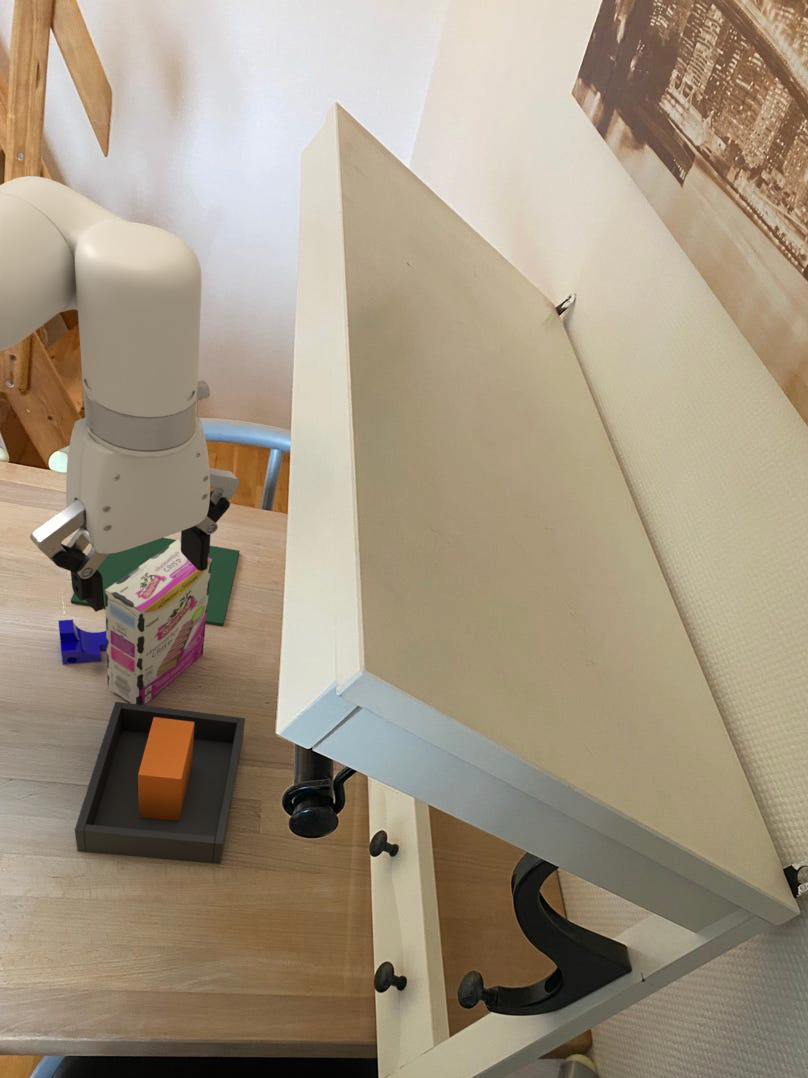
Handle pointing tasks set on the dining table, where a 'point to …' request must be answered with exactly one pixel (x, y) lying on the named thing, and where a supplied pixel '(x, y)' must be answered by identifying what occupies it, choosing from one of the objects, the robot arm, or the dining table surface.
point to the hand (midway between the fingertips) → (144, 579)
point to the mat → (134, 557)
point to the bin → (115, 789)
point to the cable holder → (80, 643)
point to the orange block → (165, 769)
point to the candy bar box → (155, 624)
